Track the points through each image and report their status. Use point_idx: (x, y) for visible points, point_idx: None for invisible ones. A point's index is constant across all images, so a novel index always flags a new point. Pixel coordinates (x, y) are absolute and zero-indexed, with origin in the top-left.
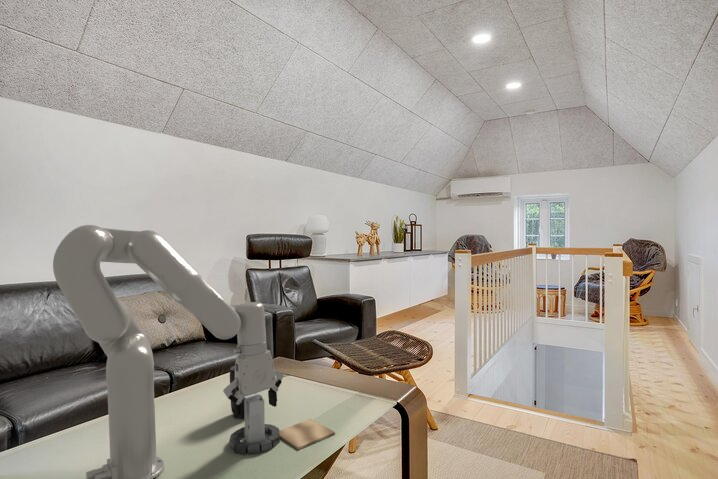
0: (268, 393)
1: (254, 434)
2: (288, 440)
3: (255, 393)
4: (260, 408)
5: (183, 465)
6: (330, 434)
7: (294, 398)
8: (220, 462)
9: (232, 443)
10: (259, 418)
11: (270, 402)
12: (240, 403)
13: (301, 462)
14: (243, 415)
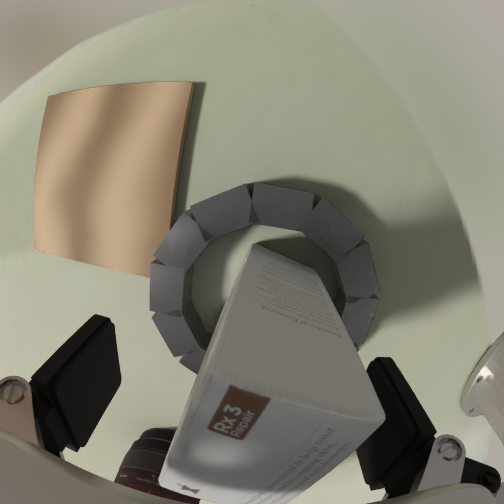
0: (90, 433)
1: (301, 277)
2: (173, 165)
3: (122, 475)
4: (268, 335)
5: (464, 339)
6: (62, 94)
7: None
8: (428, 271)
9: (372, 318)
10: (276, 298)
11: (111, 375)
12: (420, 446)
13: (254, 17)
14: (383, 368)
